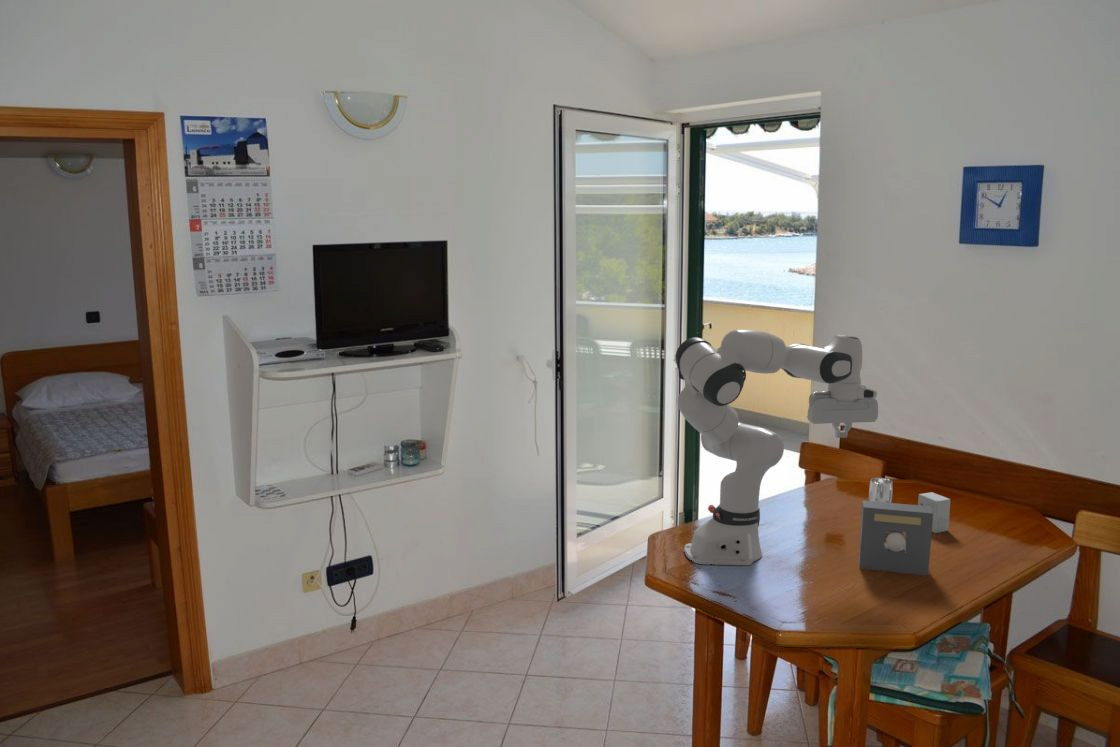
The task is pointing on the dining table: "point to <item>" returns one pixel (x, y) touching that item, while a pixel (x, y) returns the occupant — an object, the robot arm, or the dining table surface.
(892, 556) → the control block
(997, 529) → the dining table surface
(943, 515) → the small box
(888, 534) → the knob
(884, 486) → the beer glass
